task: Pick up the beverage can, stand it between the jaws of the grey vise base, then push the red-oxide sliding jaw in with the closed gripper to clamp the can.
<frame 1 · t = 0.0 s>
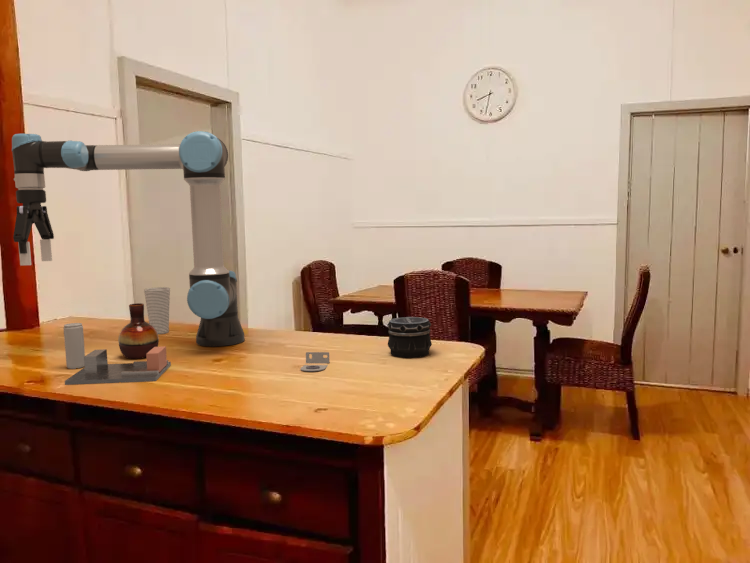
hand: (36, 263, 183), 28 cm above the countertop, fingers open, 13 cm apart
vase: (139, 356, 186), on the countertop
beverage can: (76, 367, 174), on the countertop
container: (409, 354, 183), on the countertop
jaw: (156, 359, 166), point 4 cm above the countertop, slide at 0.0 cm
grey vise base: (116, 374, 165), on the countertop
bracket: (315, 369, 170), on the countertop
cup: (159, 333, 221), on the countertop
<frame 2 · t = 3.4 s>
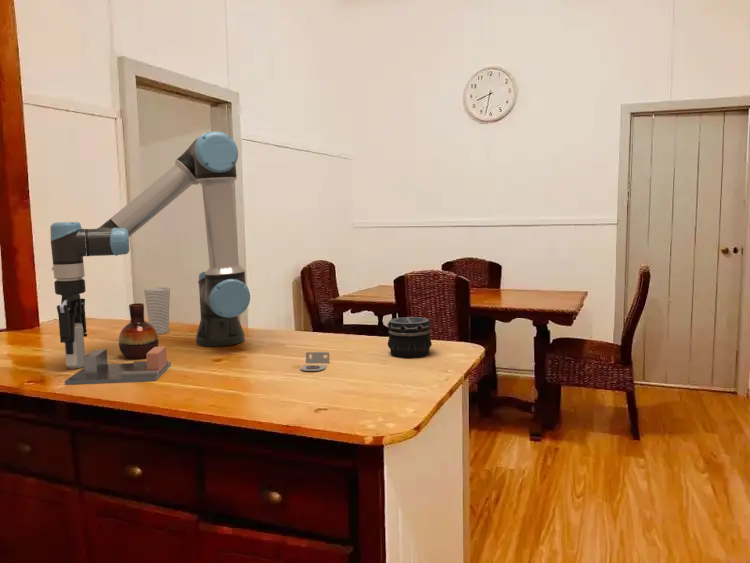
hand: (76, 362, 174), 1 cm above the countertop, fingers closed on beverage can, 5 cm apart
beverage can: (76, 367, 174), on the countertop, touching gripper
everything else where it was.
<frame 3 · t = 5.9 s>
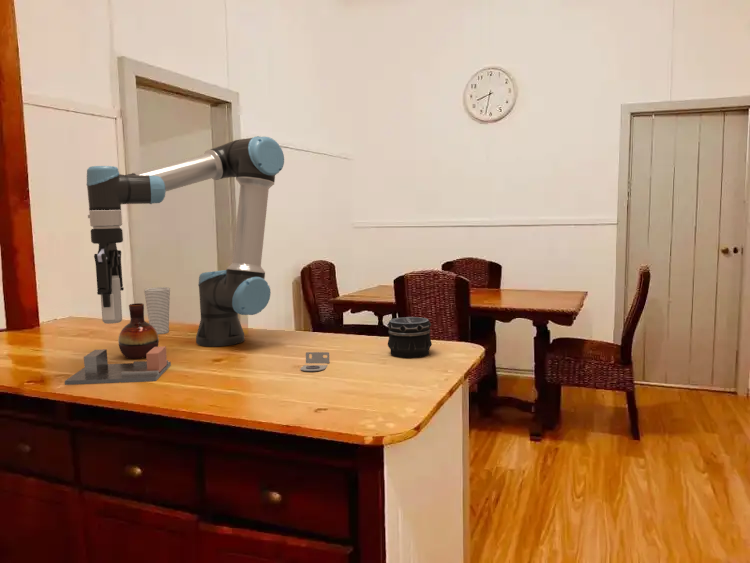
hand: (112, 317, 164), 15 cm above the countertop, fingers closed on beverage can, 5 cm apart
beverage can: (112, 323, 164), point 14 cm above the countertop, touching gripper
everything else where it was.
when the fingers open (3 cm above the countertop, at t = 8.3 s): beverage can stays where it is, resting on grey vise base.
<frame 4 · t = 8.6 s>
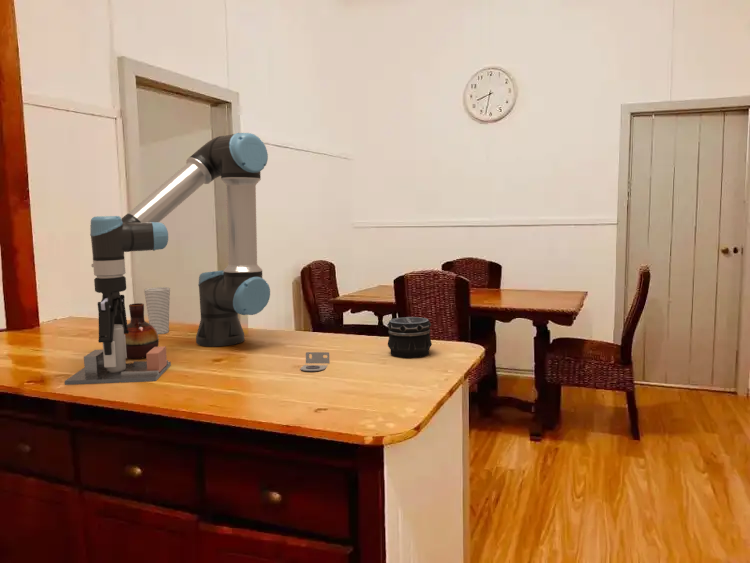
hand: (115, 362, 165), 3 cm above the countertop, fingers open, 8 cm apart
beverage can: (116, 371, 165), point 1 cm above the countertop, touching grey vise base
everything else where it was.
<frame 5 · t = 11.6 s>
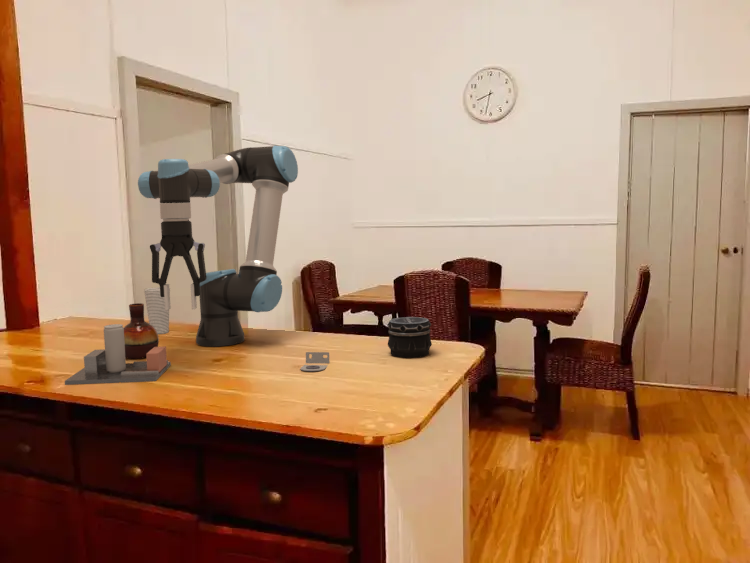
hand: (181, 308, 165), 17 cm above the countertop, fingers open, 6 cm apart
nothing on the countertop moved.
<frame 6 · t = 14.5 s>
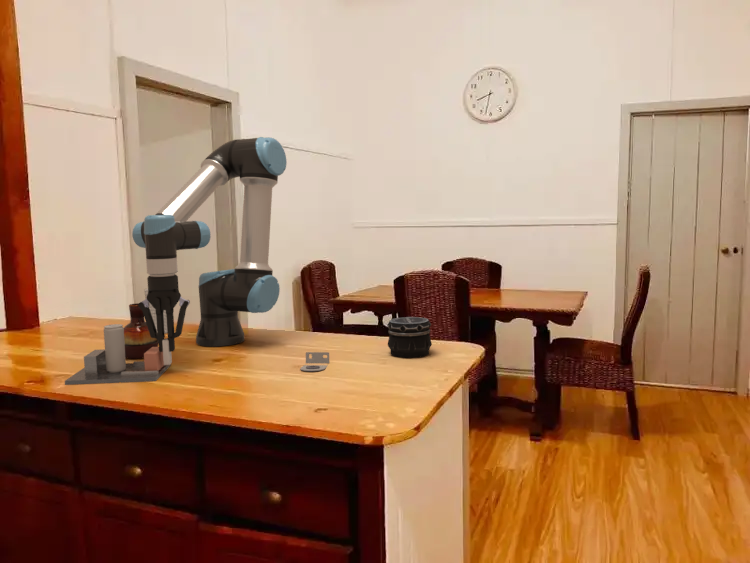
hand: (167, 363, 166), 2 cm above the countertop, fingers closed
jaw: (154, 359, 166), point 4 cm above the countertop, slide at 0.6 cm, touching gripper
everything else where it was.
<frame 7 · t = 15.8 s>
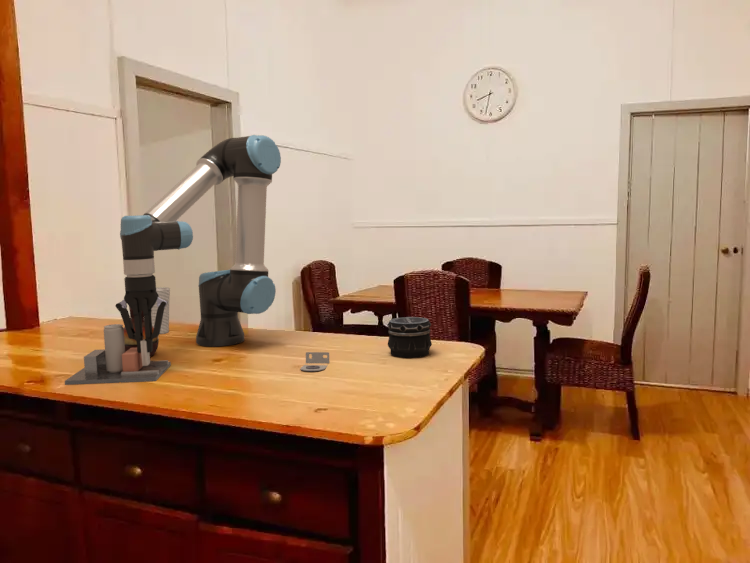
hand: (146, 364, 166), 2 cm above the countertop, fingers closed
jaw: (133, 360, 165), point 4 cm above the countertop, slide at 6.1 cm, touching gripper
everything else where it was.
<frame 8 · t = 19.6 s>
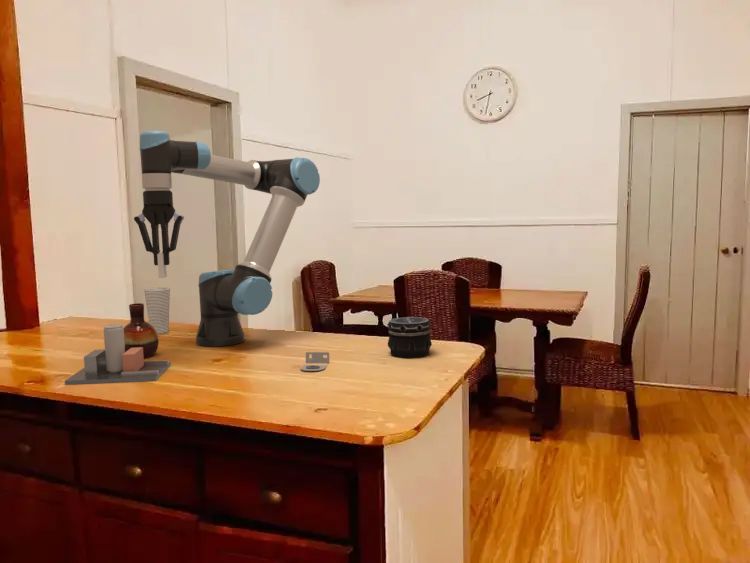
hand: (162, 277, 172), 24 cm above the countertop, fingers closed
jaw: (133, 360, 165), point 4 cm above the countertop, slide at 6.0 cm
everything else where it was.
at the end: beverage can 0.1 cm off-centre on the grey vise base, point 0.8 cm above the grey vise base's base; beverage can tilted 0°; jaw slide at 6.0 cm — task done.
